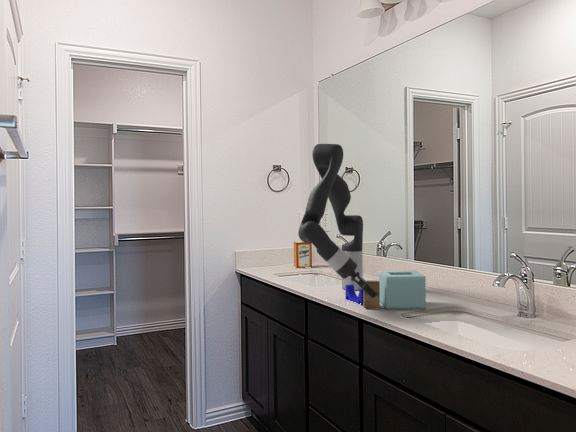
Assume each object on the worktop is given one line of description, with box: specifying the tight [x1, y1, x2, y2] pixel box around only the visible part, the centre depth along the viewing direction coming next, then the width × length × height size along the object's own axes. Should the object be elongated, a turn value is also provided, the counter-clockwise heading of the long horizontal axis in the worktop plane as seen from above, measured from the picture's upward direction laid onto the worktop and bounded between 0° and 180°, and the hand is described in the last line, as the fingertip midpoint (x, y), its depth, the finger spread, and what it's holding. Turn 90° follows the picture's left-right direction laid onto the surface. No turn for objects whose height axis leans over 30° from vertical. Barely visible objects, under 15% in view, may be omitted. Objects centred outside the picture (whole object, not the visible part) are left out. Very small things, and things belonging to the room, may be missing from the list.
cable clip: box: [345, 285, 363, 306], centre depth 177 cm, size 12×4×6 cm, turn 22°
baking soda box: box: [293, 240, 313, 269], centre depth 274 cm, size 10×6×16 cm
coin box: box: [378, 270, 427, 311], centre depth 169 cm, size 14×14×12 cm
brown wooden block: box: [362, 279, 381, 309], centre depth 165 cm, size 3×6×10 cm, turn 89°
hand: (373, 293), depth 165 cm, fingers open, 8 cm apart
